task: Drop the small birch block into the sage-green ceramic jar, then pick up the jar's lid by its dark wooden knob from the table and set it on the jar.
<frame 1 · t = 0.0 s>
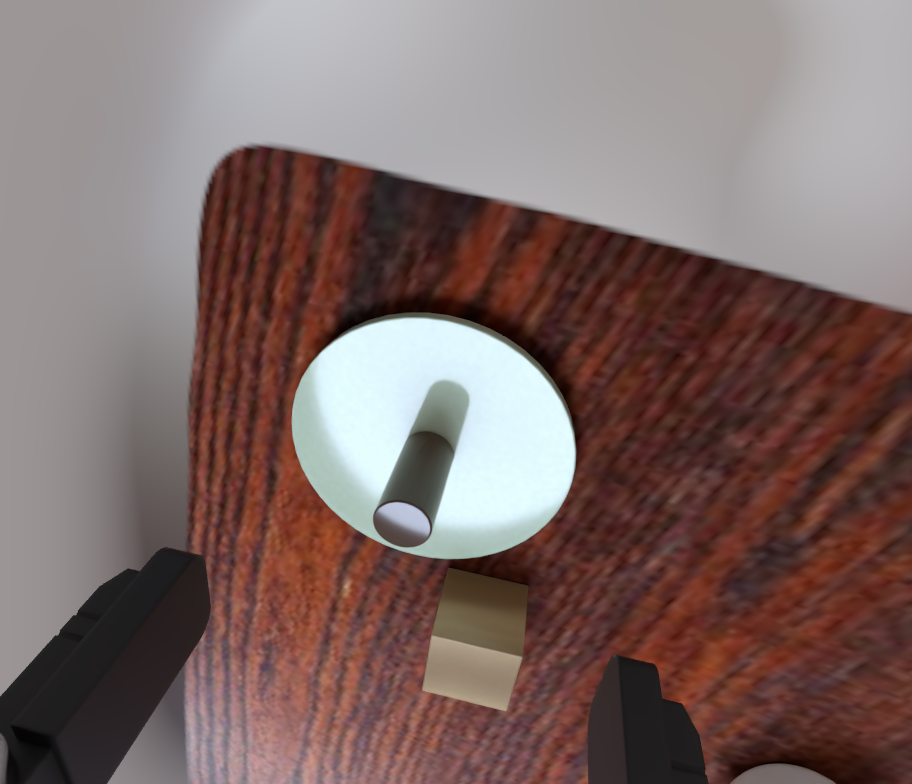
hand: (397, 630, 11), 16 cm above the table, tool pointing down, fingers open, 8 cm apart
block: (482, 603, 33), on the table
lid: (431, 445, 28), point 1 cm above the table
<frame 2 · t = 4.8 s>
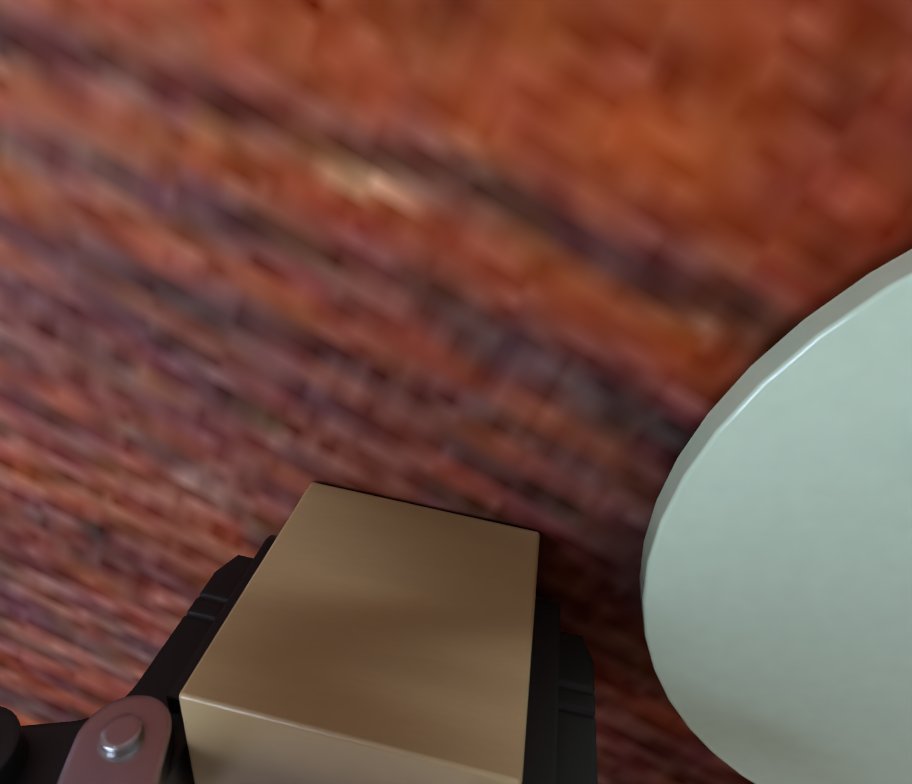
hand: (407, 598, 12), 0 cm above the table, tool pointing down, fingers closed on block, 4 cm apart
block: (412, 586, 12), on the table, touching gripper
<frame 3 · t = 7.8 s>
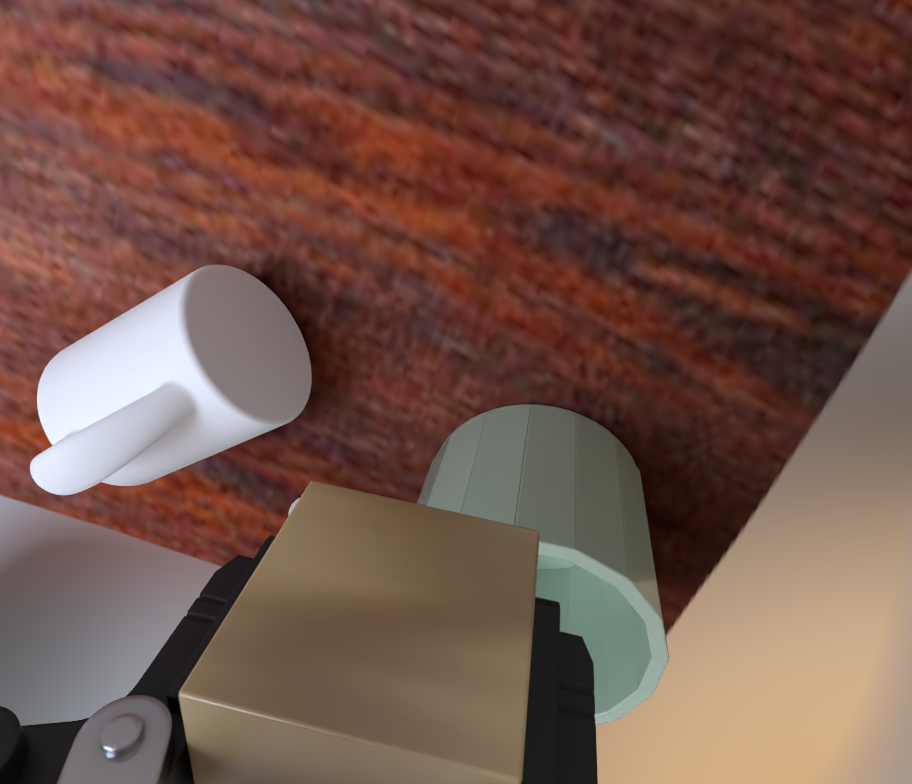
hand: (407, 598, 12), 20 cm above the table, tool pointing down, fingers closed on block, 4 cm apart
jar: (533, 494, 35), on the table
mug: (224, 345, 34), on the table
block: (412, 584, 12), point 19 cm above the table, touching gripper
when the fingers open (10 cm above the table, at t = 11.3 s): block drops 9 cm, resting on jar.
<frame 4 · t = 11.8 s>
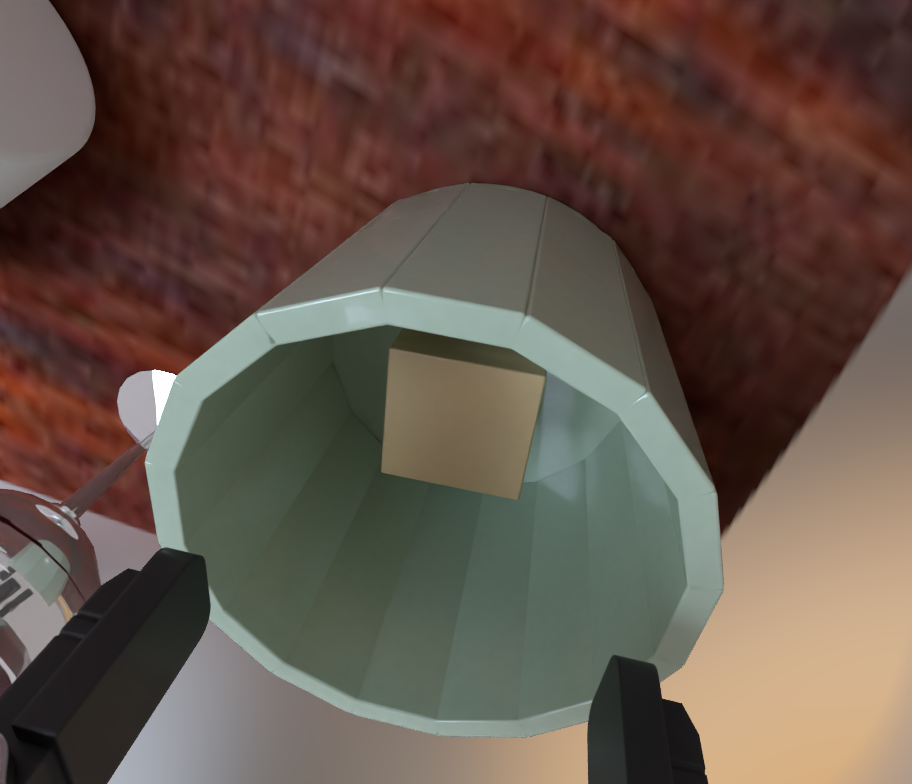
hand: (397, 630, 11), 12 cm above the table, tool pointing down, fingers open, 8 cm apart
wineglass: (173, 418, 26), on the table
jar: (480, 357, 22), on the table
block: (477, 362, 21), resting on jar
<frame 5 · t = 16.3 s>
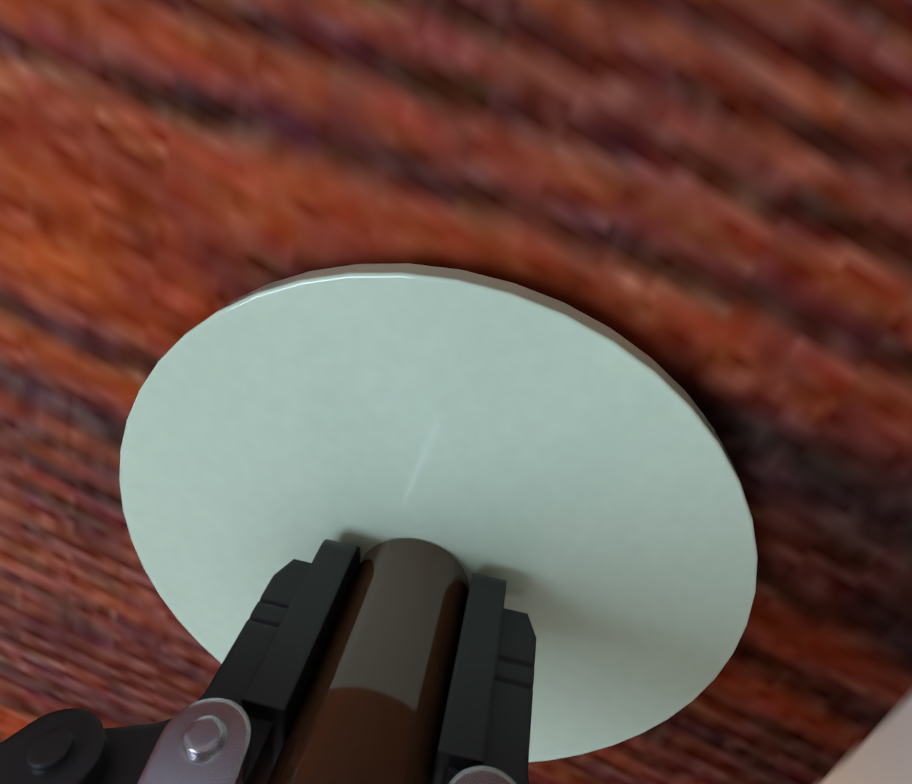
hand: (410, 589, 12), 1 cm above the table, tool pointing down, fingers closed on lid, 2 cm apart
lid: (420, 558, 13), point 1 cm above the table, touching gripper
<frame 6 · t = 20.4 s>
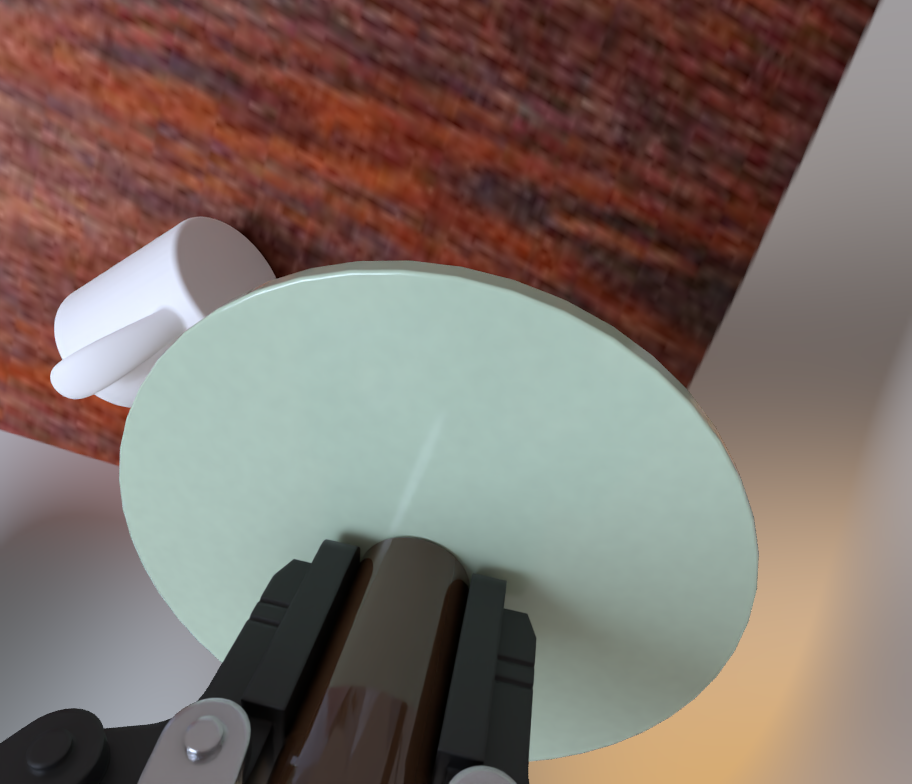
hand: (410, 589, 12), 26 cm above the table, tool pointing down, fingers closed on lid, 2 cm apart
mug: (213, 292, 39), on the table
lid: (421, 557, 13), point 25 cm above the table, touching gripper
when the fingers open (11 cm above the table, at t = 24.8 s): lid stays where it is, resting on jar.
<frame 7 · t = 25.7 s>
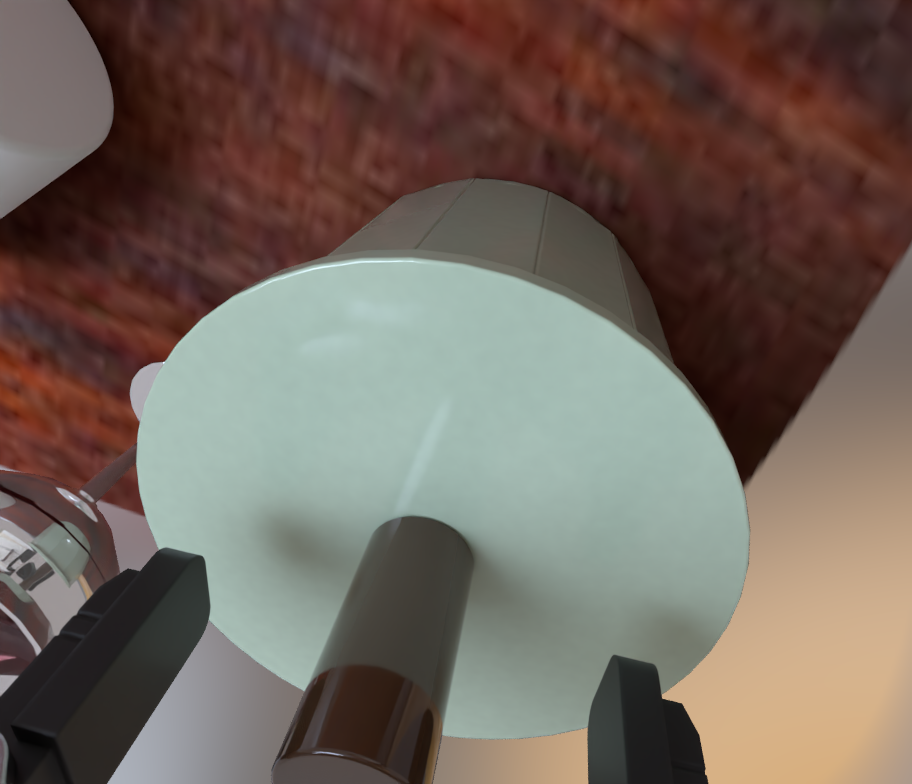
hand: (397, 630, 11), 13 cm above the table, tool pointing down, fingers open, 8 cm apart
wineglass: (184, 408, 27), on the table
jar: (483, 348, 23), on the table
lid: (426, 537, 13), point 10 cm above the table, touching jar
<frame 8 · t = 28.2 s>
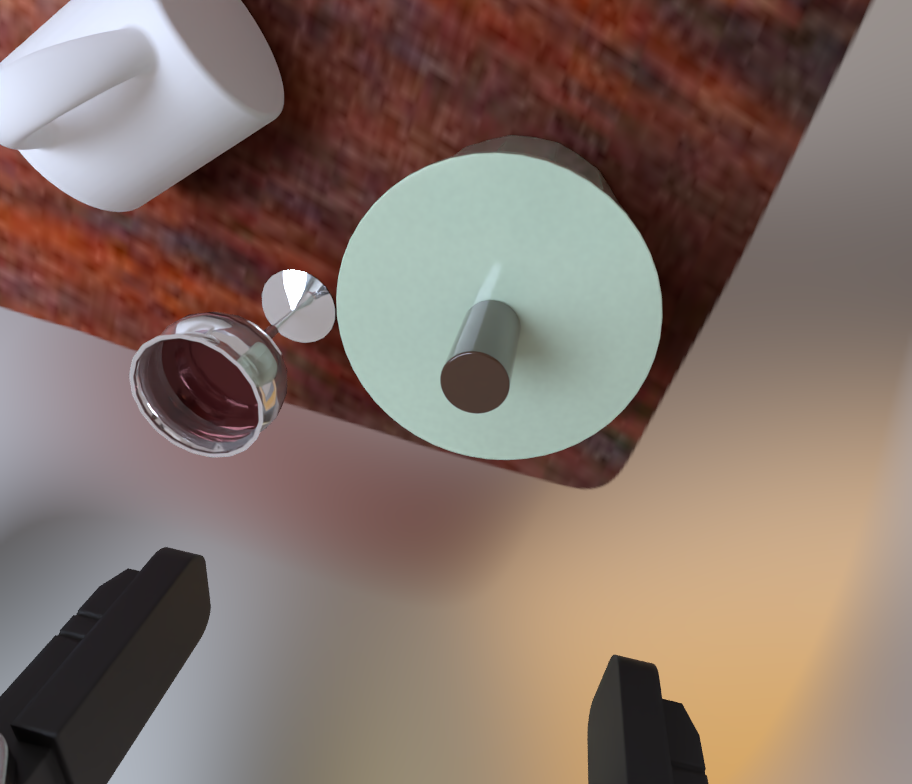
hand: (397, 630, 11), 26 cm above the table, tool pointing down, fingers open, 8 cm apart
wineglass: (299, 306, 38), on the table
jar: (513, 253, 34), on the table
mug: (195, 84, 32), on the table
lid: (493, 321, 25), point 10 cm above the table, touching jar
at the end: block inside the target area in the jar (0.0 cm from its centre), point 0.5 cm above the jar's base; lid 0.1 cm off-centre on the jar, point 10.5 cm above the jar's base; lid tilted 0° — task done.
